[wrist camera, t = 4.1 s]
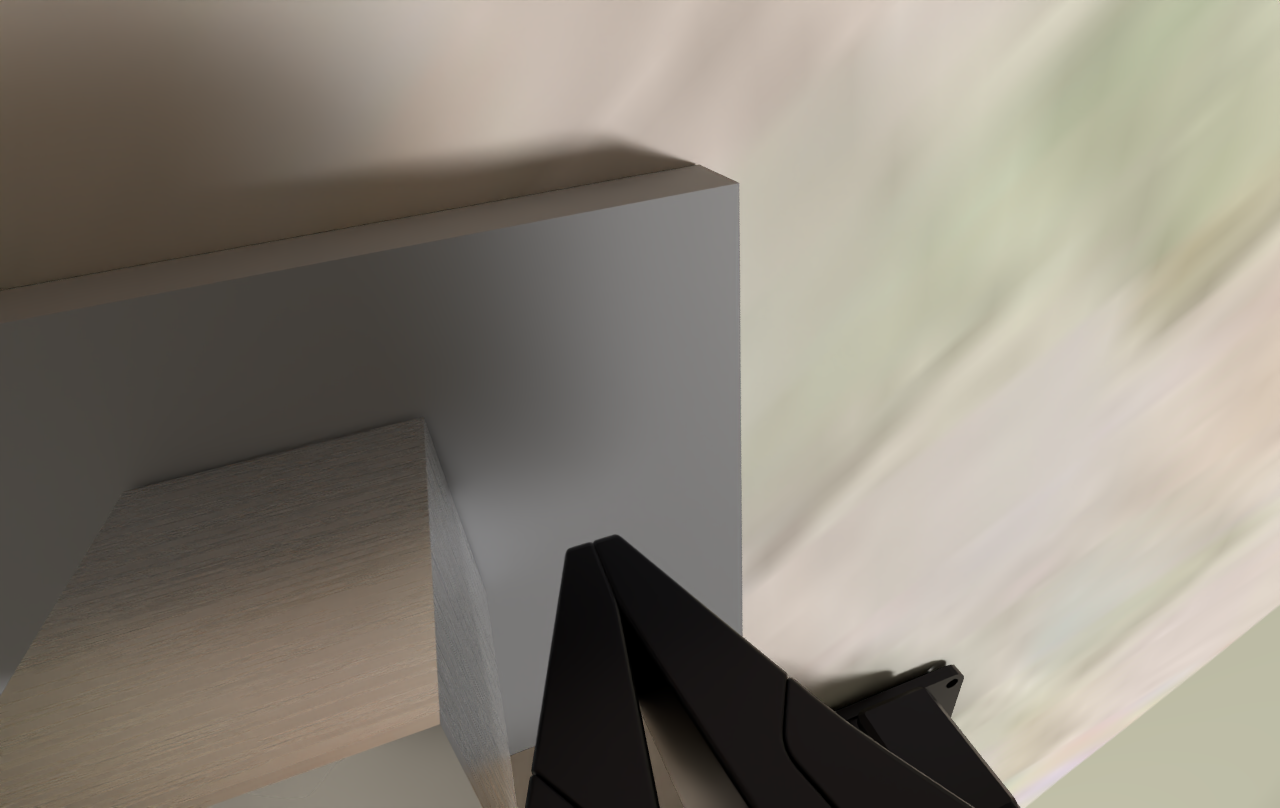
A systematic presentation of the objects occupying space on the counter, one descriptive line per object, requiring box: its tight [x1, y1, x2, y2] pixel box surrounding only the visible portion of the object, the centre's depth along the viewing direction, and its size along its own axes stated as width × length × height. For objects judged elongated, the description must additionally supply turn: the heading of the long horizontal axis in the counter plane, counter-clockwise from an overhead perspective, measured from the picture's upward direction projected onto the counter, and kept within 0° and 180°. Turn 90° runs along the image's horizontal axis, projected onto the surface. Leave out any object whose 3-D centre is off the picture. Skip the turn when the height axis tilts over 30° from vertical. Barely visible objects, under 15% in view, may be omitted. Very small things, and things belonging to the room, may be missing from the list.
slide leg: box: [0, 417, 518, 808], centre depth 9 cm, size 7×4×5 cm, turn 6°
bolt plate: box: [0, 165, 742, 755], centre depth 10 cm, size 12×26×2 cm, turn 96°
